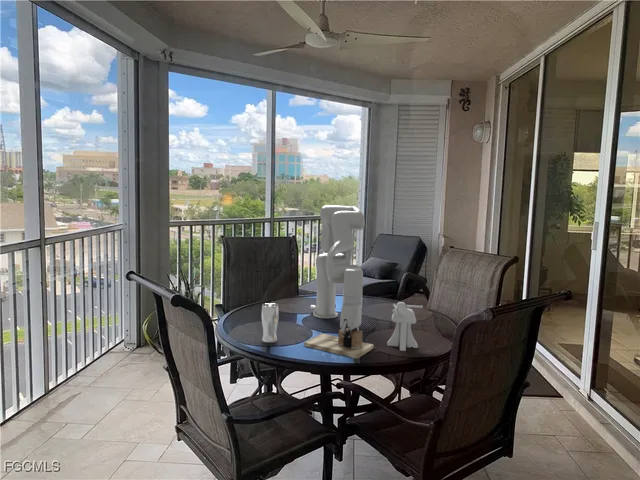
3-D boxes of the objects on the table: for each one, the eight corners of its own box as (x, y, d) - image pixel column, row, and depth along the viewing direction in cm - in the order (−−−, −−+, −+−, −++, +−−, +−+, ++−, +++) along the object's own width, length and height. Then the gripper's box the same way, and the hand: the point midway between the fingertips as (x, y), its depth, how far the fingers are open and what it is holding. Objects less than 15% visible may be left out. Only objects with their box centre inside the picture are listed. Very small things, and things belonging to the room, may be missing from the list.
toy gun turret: (421, 352, 173) (423, 307, 171) (387, 349, 175) (389, 305, 173) (419, 342, 185) (421, 300, 183) (387, 340, 187) (389, 298, 185)
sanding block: (338, 345, 173) (338, 330, 173) (344, 341, 178) (344, 327, 177) (356, 349, 169) (356, 334, 169) (362, 345, 173) (362, 331, 173)
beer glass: (271, 344, 177) (271, 307, 175) (257, 341, 180) (258, 305, 179) (281, 340, 183) (282, 304, 181) (268, 336, 186) (268, 302, 185)
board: (304, 345, 176) (304, 341, 176) (322, 336, 188) (322, 333, 188) (357, 358, 164) (357, 354, 164) (373, 348, 176) (373, 344, 176)
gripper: (353, 294, 181) (352, 337, 182) (333, 302, 166) (331, 349, 168) (370, 297, 177) (368, 341, 179) (350, 305, 162) (349, 353, 164)
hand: (350, 344), depth 173 cm, fingers closed on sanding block, 5 cm apart
